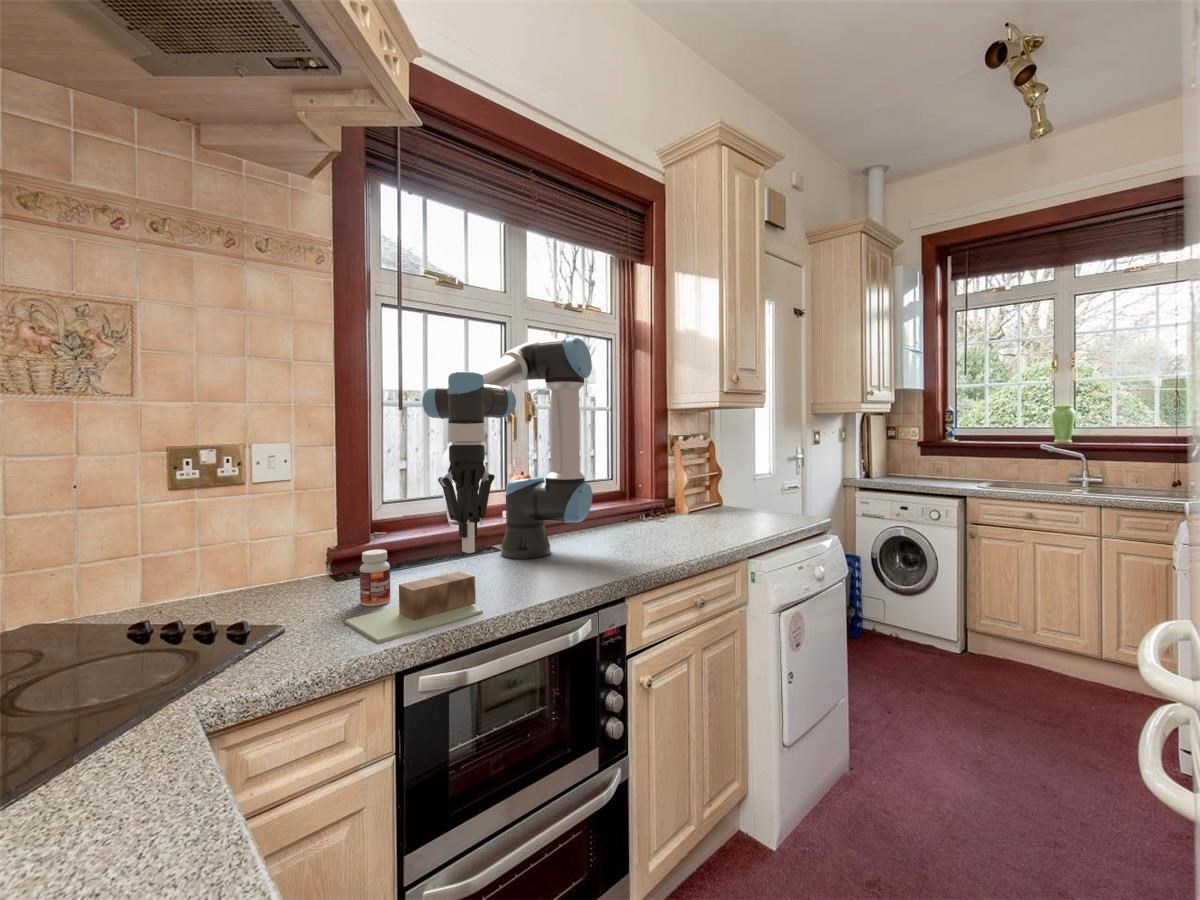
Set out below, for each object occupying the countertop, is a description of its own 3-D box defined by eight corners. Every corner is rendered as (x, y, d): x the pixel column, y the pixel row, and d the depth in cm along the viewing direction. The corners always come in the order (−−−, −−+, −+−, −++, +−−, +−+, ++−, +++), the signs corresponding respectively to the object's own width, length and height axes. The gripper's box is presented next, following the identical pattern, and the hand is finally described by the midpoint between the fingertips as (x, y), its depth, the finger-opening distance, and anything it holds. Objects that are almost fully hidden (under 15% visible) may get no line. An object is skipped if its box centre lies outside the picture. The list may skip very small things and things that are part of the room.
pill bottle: (372, 609, 115) (371, 556, 115) (354, 604, 118) (353, 553, 118) (396, 601, 121) (395, 550, 120) (378, 597, 124) (377, 547, 123)
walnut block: (460, 571, 120) (398, 584, 110) (475, 576, 116) (412, 590, 106) (460, 597, 121) (399, 613, 110) (475, 603, 116) (413, 620, 106)
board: (445, 597, 123) (445, 594, 123) (482, 612, 112) (482, 609, 112) (345, 622, 107) (345, 619, 107) (378, 643, 97) (378, 639, 97)
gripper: (482, 442, 125) (483, 544, 126) (430, 444, 115) (432, 554, 116) (501, 443, 119) (503, 549, 120) (448, 444, 110) (450, 559, 111)
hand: (468, 551), depth 118 cm, fingers closed
